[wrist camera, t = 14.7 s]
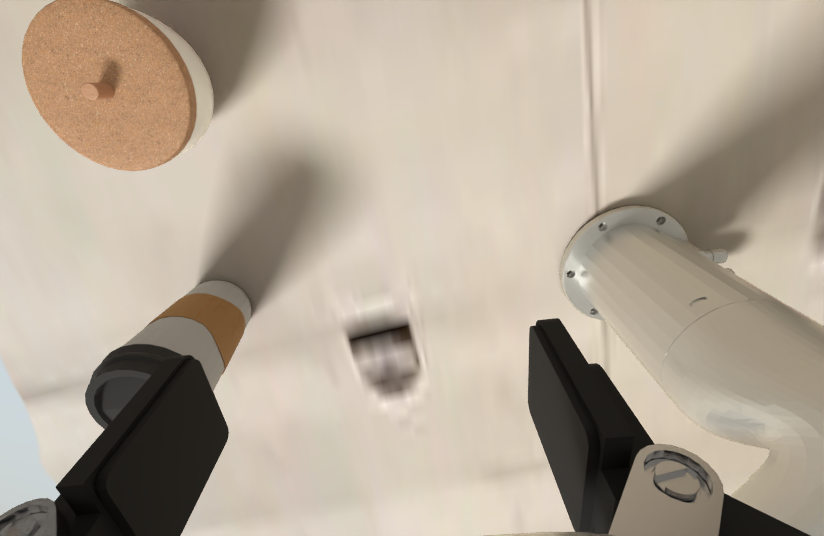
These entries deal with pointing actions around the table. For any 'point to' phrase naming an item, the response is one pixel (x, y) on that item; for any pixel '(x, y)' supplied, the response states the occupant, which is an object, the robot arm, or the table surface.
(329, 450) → the table surface
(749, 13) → the table surface
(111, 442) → the robot arm
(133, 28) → the lidded jar
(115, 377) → the coffee cup
